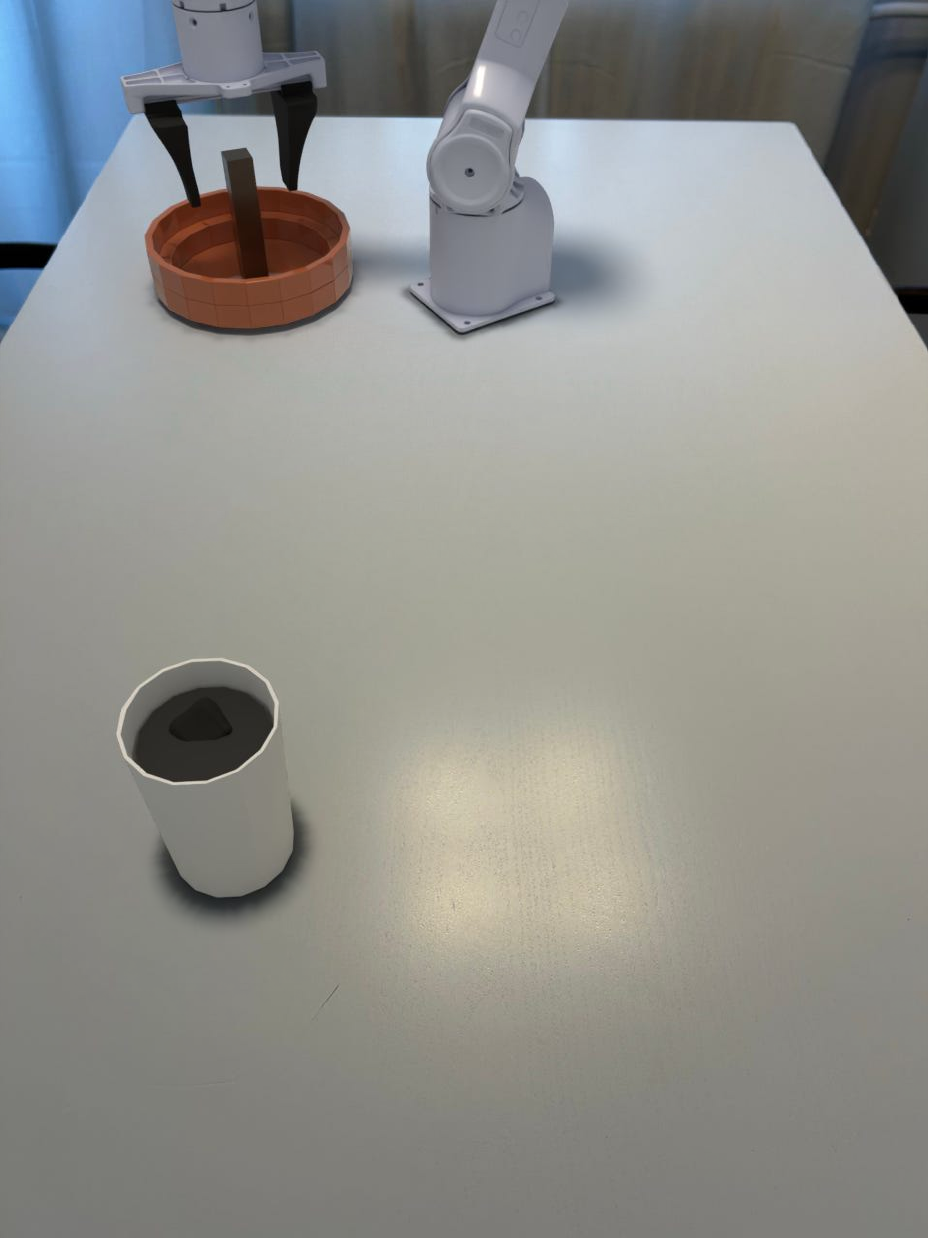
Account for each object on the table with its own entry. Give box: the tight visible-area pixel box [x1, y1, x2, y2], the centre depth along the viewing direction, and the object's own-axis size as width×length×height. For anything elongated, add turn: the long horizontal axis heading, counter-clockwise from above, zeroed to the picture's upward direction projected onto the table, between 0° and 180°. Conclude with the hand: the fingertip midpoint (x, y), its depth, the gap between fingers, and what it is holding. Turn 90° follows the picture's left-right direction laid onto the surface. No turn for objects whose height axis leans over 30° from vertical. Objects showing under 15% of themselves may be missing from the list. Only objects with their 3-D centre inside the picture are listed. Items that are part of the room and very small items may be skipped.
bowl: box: [144, 185, 354, 329], centre depth 85 cm, size 16×16×4 cm
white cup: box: [115, 657, 295, 898], centre depth 46 cm, size 7×7×10 cm
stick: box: [220, 147, 269, 279], centre depth 82 cm, size 2×2×10 cm
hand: (242, 193), depth 81 cm, fingers open, 7 cm apart
